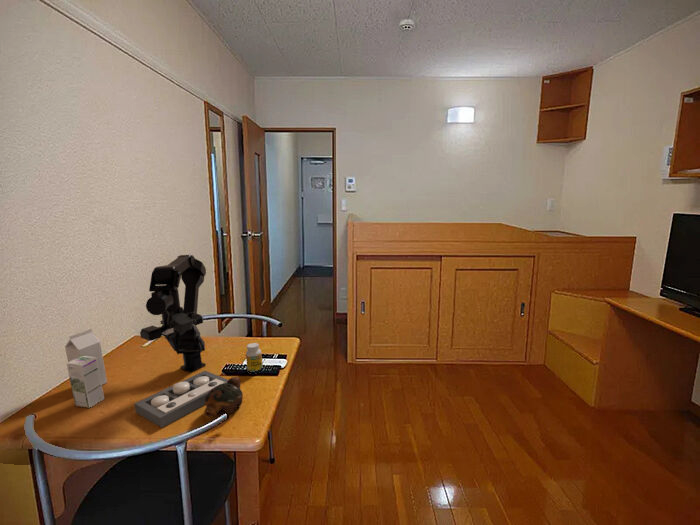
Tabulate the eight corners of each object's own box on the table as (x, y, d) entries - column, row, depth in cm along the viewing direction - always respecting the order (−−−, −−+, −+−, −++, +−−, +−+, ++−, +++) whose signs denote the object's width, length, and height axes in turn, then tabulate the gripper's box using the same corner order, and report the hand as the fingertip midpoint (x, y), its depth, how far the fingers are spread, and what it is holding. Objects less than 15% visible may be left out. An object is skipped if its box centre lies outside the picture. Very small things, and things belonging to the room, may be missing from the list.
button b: (170, 392, 124) (169, 386, 123) (184, 386, 128) (183, 380, 127) (179, 397, 121) (178, 390, 121) (193, 390, 125) (192, 384, 124)
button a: (148, 407, 118) (147, 401, 118) (163, 399, 122) (163, 393, 122) (157, 412, 116) (156, 405, 115) (172, 404, 120) (171, 398, 119)
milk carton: (107, 382, 137) (98, 330, 133) (86, 393, 131) (76, 338, 127) (94, 379, 140) (84, 327, 136) (72, 389, 134) (62, 335, 130)
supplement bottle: (259, 365, 145) (257, 340, 144) (265, 371, 141) (263, 345, 139) (245, 369, 143) (242, 344, 141) (250, 375, 138) (248, 349, 136)
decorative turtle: (252, 398, 124) (250, 374, 122) (227, 427, 109) (224, 400, 108) (224, 395, 126) (221, 372, 124) (195, 424, 111) (192, 397, 110)
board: (135, 412, 118) (134, 401, 117) (206, 378, 137) (205, 369, 136) (161, 427, 110) (160, 416, 109) (232, 389, 129) (231, 379, 128)
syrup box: (105, 399, 126) (97, 356, 124) (88, 409, 121) (80, 364, 118) (91, 397, 128) (83, 354, 125) (74, 407, 122) (65, 362, 120)
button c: (190, 386, 130) (190, 381, 129) (203, 380, 133) (203, 375, 133) (199, 390, 127) (199, 384, 126) (212, 384, 131) (212, 378, 130)
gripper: (155, 317, 116) (162, 367, 119) (210, 300, 131) (215, 345, 134) (136, 311, 123) (143, 359, 126) (190, 296, 138) (195, 339, 141)
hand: (176, 350), depth 131 cm, fingers closed
